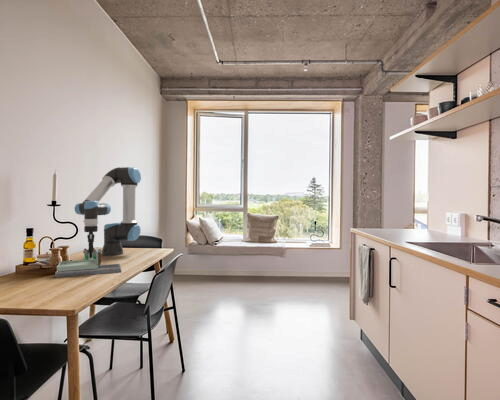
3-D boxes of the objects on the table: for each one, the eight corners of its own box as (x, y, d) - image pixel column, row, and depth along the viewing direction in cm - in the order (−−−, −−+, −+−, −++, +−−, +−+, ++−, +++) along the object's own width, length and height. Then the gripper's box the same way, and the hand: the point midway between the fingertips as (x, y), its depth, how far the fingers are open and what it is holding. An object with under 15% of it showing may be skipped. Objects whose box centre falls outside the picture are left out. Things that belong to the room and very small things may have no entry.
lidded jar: (61, 266, 209) (61, 251, 209) (49, 270, 198) (49, 254, 198) (44, 265, 210) (44, 250, 210) (32, 269, 199) (32, 253, 199)
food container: (79, 266, 211) (78, 250, 210) (86, 263, 217) (85, 248, 216) (95, 266, 207) (95, 250, 207) (102, 264, 213) (101, 248, 213)
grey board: (58, 270, 196) (58, 267, 196) (119, 266, 210) (119, 262, 210) (54, 277, 180) (54, 273, 180) (121, 272, 193) (121, 268, 193)
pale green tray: (59, 266, 196) (59, 249, 196) (97, 264, 204) (98, 247, 204) (56, 272, 181) (56, 253, 181) (98, 269, 189) (98, 251, 189)
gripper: (84, 224, 220) (84, 259, 221) (83, 227, 201) (83, 265, 201) (97, 223, 223) (97, 258, 224) (97, 226, 204) (97, 264, 204)
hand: (90, 261), depth 212 cm, fingers closed on food container, 9 cm apart
